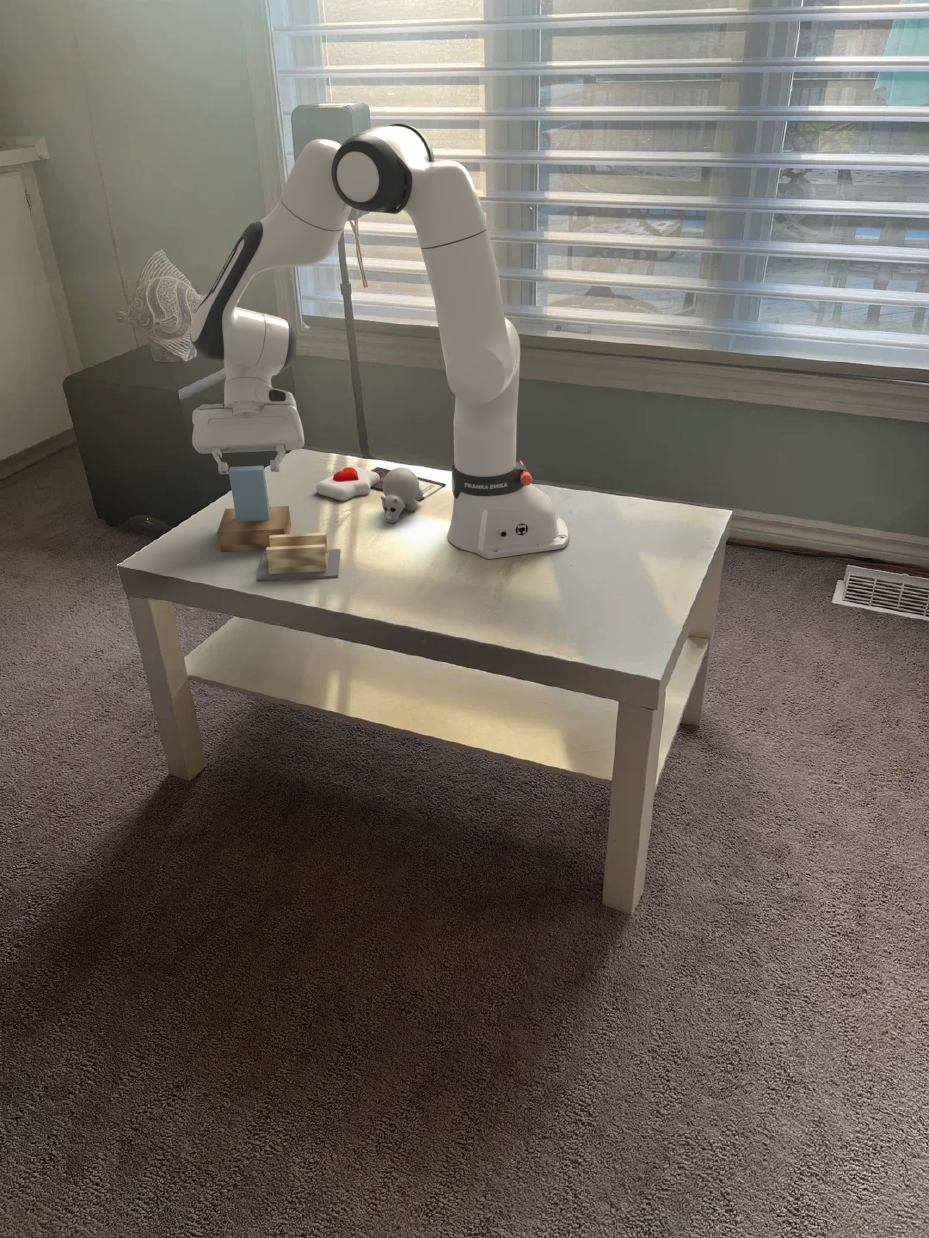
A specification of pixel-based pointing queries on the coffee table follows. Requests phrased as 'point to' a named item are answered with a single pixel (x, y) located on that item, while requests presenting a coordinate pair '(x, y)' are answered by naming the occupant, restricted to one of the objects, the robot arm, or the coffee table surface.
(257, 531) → the block
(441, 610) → the coffee table surface
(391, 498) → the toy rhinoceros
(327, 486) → the icon
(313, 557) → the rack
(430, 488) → the chocolate bar
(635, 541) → the coffee table surface
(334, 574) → the mat
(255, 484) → the pale blue rectangular prism
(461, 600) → the coffee table surface
